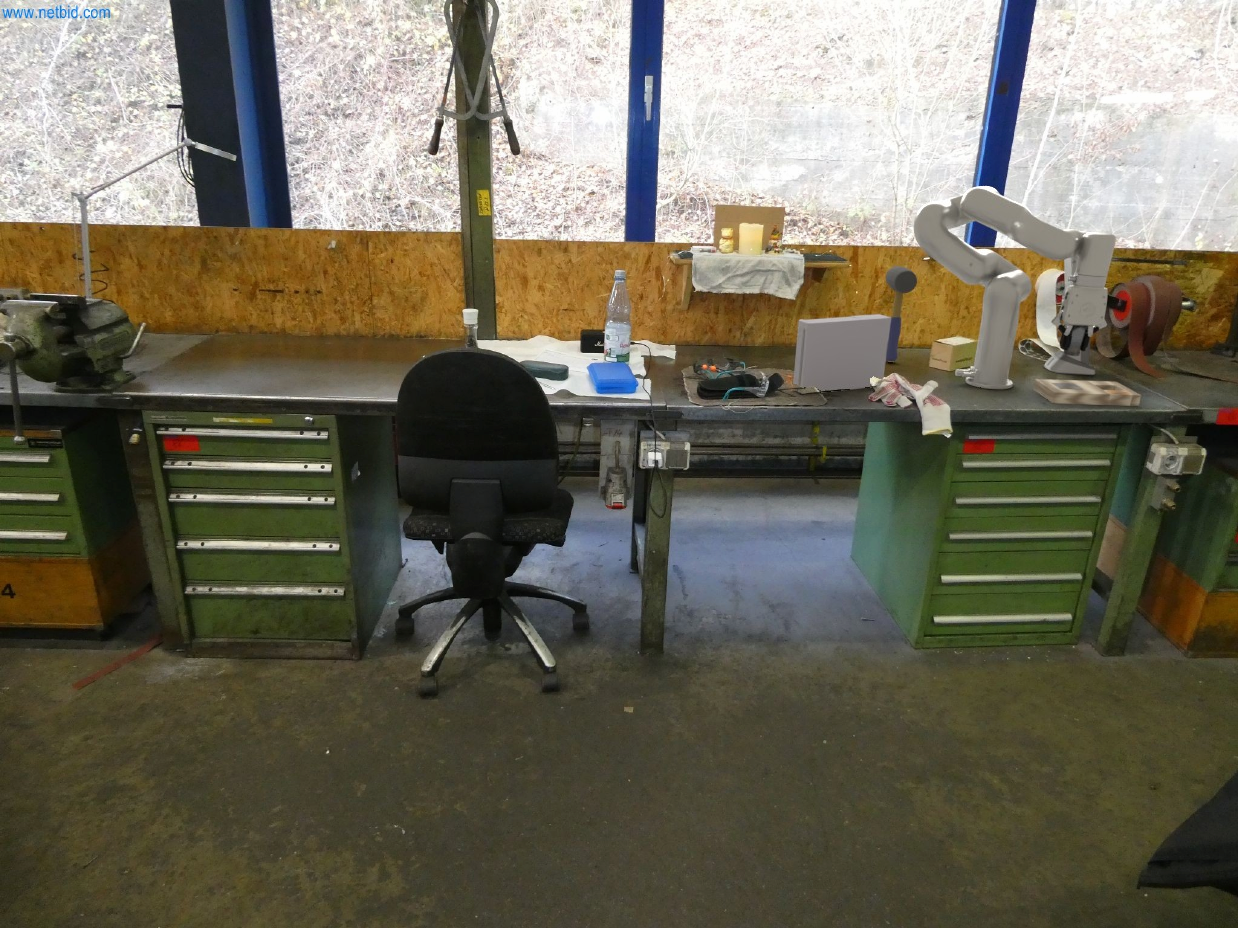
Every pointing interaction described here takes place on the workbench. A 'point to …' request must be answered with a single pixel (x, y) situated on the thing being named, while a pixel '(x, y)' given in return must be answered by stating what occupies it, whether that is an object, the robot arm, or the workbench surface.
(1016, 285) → the robot arm
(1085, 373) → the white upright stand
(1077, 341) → the peg
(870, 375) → the game console
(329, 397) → the workbench surface
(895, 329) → the rubber mallet
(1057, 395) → the fixture board
